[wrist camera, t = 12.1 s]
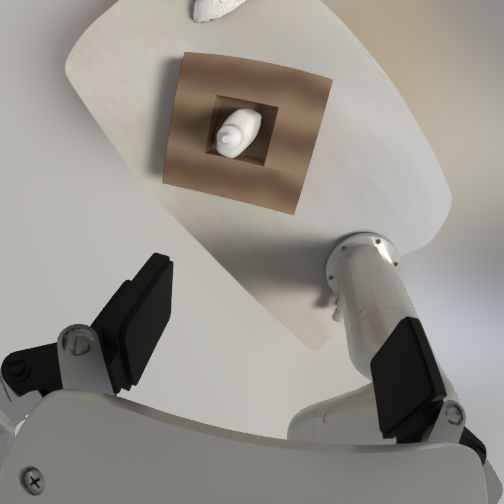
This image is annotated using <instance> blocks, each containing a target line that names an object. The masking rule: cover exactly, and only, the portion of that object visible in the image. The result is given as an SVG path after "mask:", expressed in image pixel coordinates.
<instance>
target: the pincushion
mask: <svg viewBox="0 0 504 504" xmlns="http://www.w3.org/2000/svg"><path fill="white" fill-rule="evenodd" d="M244 1H246V0H195V6H194V9H193V11H194V13H193V19H194V21H196V22H202V21H209V20H210V19H218V18H220V17H221V16H223V15H225V14H226V13H227V12H231V11H233V10H234V9H235V8H237V7H238V6H239V5H240V4H241V3H243V2H244Z"/></svg>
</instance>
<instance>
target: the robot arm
mask: <svg viewBox="0 0 504 504" xmlns="http://www.w3.org/2000/svg"><path fill="white" fill-rule="evenodd" d="M377 239H378V240H377ZM343 246H344V247H343ZM399 269H400V259H399V254H398V252H397V250H396V248H395V247H394V245H393V244H392V243H391V242H390V241H389V240H388V239H387V238H385V237H383V236H381V235H378V234H374V233H360V234H356V235H353V236H350V237H348V238H346V239H345V240H343V241H341V242H340V243H339V244H338V245H337V246H336V247H335V248H334V249H333V251H332V252H331V254H330V255H329V257H328V260H327V263H326V278H327V282H328V284H329V286H330V288H331V289H332V291H333V292H334V293H336V294H337V295H338V296H339V300H338V306H337V308H336V309H335V311H334V313H333V315H332V319H333V320H334V321H336V322H340V321H342V319H343V318H344V324H345V330H346V337H347V343H348V351H349V356H350V359H351V361H352V363H353V365H354V366H355V368H356V369H357V370H358V371H359V372H360V373H361V374H362V375H363V376H365V377H366V378H367V379H369V380H371V381H372V382H371V383H369V384H367V385H365V386H363V387H360V388H359V389H356V390H354V391H351V392H348V393H345V394H343V395H340V396H337V397H334V398H331V399H328V400H325V401H322V402H319V403H316V404H313V405H310V406H308V407H306V408H304V409H302V410H301V411H299V412H298V413H297V414H296V415H295V416H294V418H292V420H291V422H290V425H289V428H288V433H287V440H285V439H278V438H271V437H264V436H259V435H253V434H248V433H242V432H238V431H233V430H229V429H224V428H220V427H216V426H212V425H208V424H204V423H200V422H197V421H193V420H190V419H186V418H182V417H179V416H176V415H172V414H169V413H166V412H163V411H160V410H157V409H154V408H151V407H148V406H145V405H142V404H139V403H135V402H133V401H130V400H127V399H124V398H121V397H117V395H116V394H117V393H119V392H120V390H121V388H123V389H125V390H127V391H129V390H130V388H131V386H132V385H135V386H136V385H137V384H138V382H139V380H140V378H141V376H142V373H143V371H144V369H145V367H146V365H147V363H148V361H149V359H150V357H151V355H152V353H153V351H154V349H155V347H156V345H157V343H158V341H159V339H160V337H161V335H162V333H163V331H164V329H165V327H166V325H167V323H168V321H169V319H170V315H171V298H172V279H173V262H172V261H170V259H169V257H168V256H166V255H162V254H159V253H154V254H153V255H152V256H151V257H150V258H149V260H148V261H147V262H146V263H145V264H144V266H143V267H142V268H141V270H140V271H139V272H138V273H137V275H136V276H135V277H134V278H133V280H132V281H130V280H126V281H125V282H124V283H123V284H122V285H121V286H120V288H119V289H118V290H117V291H116V293H115V294H114V295H113V296H112V298H111V299H110V300H109V302H108V303H107V304H106V306H105V307H104V308H103V310H102V311H101V312H100V314H99V315H98V317H97V318H96V319H95V320H94V322H93V323H92V324H91V326H90V327H89V326H87V325H84V324H74V325H71V326H68V327H67V328H65V329H64V330H63V331H62V332H61V333H60V334H59V337H58V340H57V342H56V343H52V344H47V345H43V346H39V347H34V348H30V349H25V350H21V351H16V352H13V353H11V354H9V355H8V356H7V357H6V358H5V359H4V361H3V363H2V366H1V369H0V504H497V503H498V501H499V499H500V498H501V496H502V491H503V489H502V484H501V482H500V480H499V478H498V477H497V475H496V473H495V471H494V470H493V468H492V466H491V465H490V463H489V461H488V460H487V461H485V460H486V448H485V445H484V444H483V443H482V442H481V441H480V440H479V439H478V438H477V437H476V436H475V435H474V434H473V433H471V432H470V431H469V430H468V429H467V428H466V427H465V426H464V425H465V420H466V416H465V412H464V409H463V408H462V406H461V405H460V403H459V399H458V396H457V394H456V392H455V389H454V387H453V385H452V383H451V381H450V379H449V378H448V376H447V374H446V373H445V371H444V369H443V367H442V365H441V364H440V362H439V361H438V358H437V356H436V355H435V353H434V351H433V349H432V347H431V344H430V342H429V340H428V338H427V336H426V333H425V331H424V328H423V326H422V324H421V322H420V319H419V317H418V314H417V312H416V310H415V308H414V306H413V304H412V301H411V299H410V297H409V295H408V293H407V290H406V288H405V286H404V284H403V282H402V280H401V278H400V276H399V275H398V273H399ZM29 413H30V414H29ZM28 414H29V415H28ZM26 415H28V417H27V418H26V417H25V416H26ZM24 419H26V420H25V422H24V423H23V425H22V426H21V428H20V430H19V432H18V433H17V435H16V437H15V429H16V426H17V425H18V424H19V423H20V422H21V421H23V420H24Z"/></svg>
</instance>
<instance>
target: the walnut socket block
mask: <svg viewBox="0 0 504 504" xmlns="http://www.w3.org/2000/svg"><path fill="white" fill-rule="evenodd" d="M332 81H333V80H332V79H329V78H326V77H322V76H319V75H316V74H312V73H308V72H305V71H301V70H297V69H293V68H289V67H285V66H280V65H276V64H271V63H266V62H261V61H256V60H250V59H244V58H238V57H231V56H223V55H215V54H205V53H193V52H185V53H184V57H183V61H182V66H181V70H180V75H179V80H178V85H177V90H176V95H175V100H174V106H173V112H172V118H171V124H170V130H169V137H168V144H167V151H166V159H165V167H164V176H163V183H164V184H169V185H173V186H178V187H182V188H187V189H191V190H196V191H200V192H204V193H209V194H213V195H217V196H221V197H225V198H230V199H234V200H238V201H242V202H246V203H250V204H254V205H257V206H261V207H265V208H269V209H273V210H276V211H280V212H284V213H288V214H291V215H294V213H295V210H296V207H297V203H298V200H299V197H300V193H301V190H302V187H303V184H304V180H305V177H306V174H307V170H308V167H309V163H310V160H311V157H312V153H313V150H314V146H315V143H316V139H317V136H318V132H319V129H320V125H321V122H322V118H323V114H324V111H325V107H326V103H327V100H328V96H329V92H330V89H331V85H332ZM246 108H249V109H252V110H254V111H256V112H258V113H260V114H261V115H262V122H261V127H260V130H259V132H258V134H257V136H256V138H255V139H254V140H253V142H252V143H251V144H250V145H249V146H248V147H247V148H246V149H245V150H243V151H242V152H241V153H240V154H239V155H238V156H236V157H235V158H228V157H226V156H224V155H222V154H220V153H219V152H218V151H217V133H218V131H219V130H220V129H221V127H222V125H223V124H224V122H225V121H226V120H227V118H228V117H229V116H230V115H231V114H233V113H234V112H235V111H237V110H239V109H246Z"/></svg>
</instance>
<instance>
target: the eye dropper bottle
mask: <svg viewBox="0 0 504 504" xmlns="http://www.w3.org/2000/svg"><path fill="white" fill-rule="evenodd" d="M261 122H262V115H261V114H260V113H258V112H256V111H254V110H252V109H249V108H246V109H239V110H237V111H235V112H234V113H233V114H231V115H230V116H229V117H228V118H227V120H226V121H225V122H224V124H223V125H222V127H221V129H220V130H219V131H218V133H217V151H218V152H219V153H220V154H222V155H224V156H226V157H228V158H235V157H236V156H238V155H239V154H240V153H241V152H242V151H243V150H245V149H246V148H247V147H248V146H249V145H250V144H251V143H252V142H253V140H254V139H255V138H256V136H257V134H258V132H259V130H260V127H261Z"/></svg>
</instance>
